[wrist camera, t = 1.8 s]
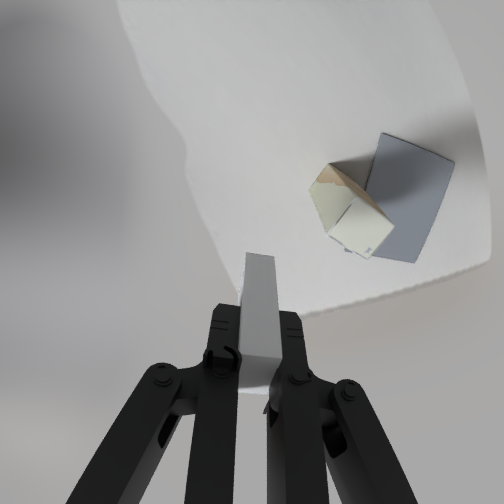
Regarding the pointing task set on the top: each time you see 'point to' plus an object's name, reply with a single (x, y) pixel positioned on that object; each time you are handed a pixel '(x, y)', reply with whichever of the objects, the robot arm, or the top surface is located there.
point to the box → (349, 213)
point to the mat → (406, 194)
